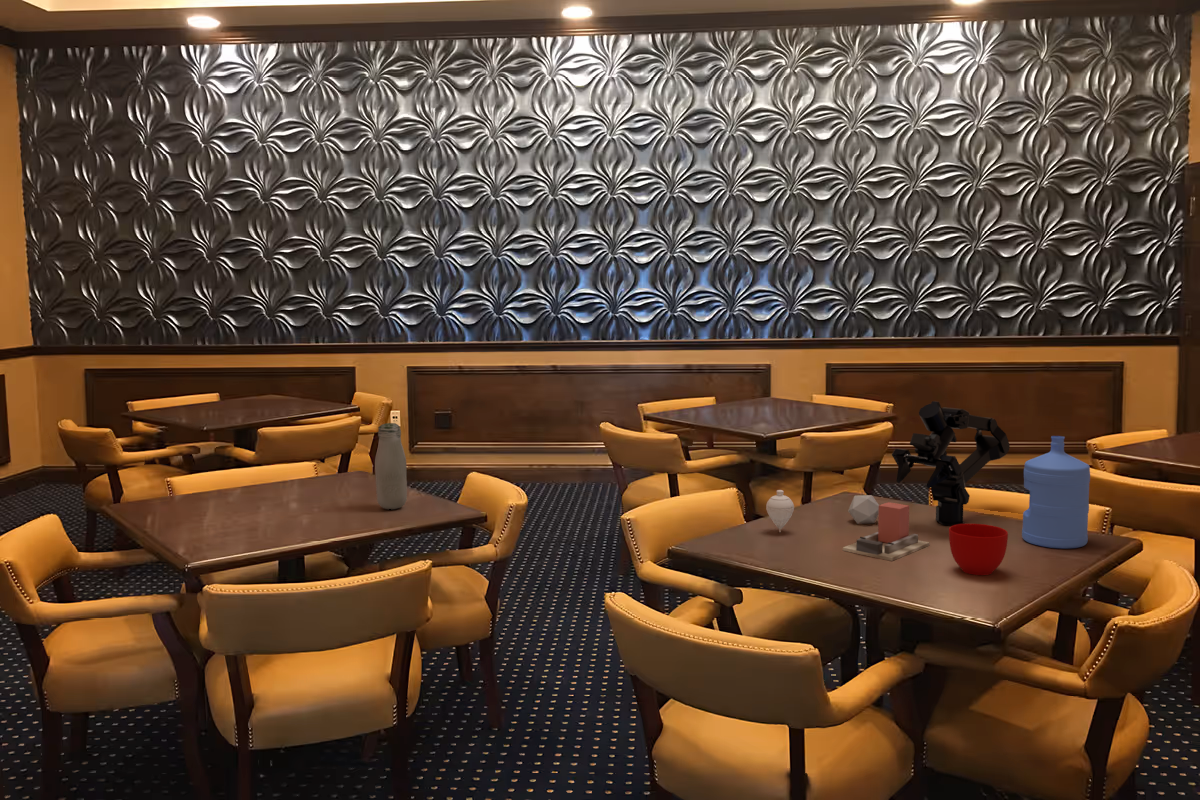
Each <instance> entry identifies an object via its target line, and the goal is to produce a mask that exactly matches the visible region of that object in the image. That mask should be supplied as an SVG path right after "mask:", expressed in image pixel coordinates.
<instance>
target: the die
mask: <svg viewBox="0 0 1200 800" xmlns="http://www.w3.org/2000/svg"><path fill="white" fill-rule="evenodd" d="M879 505H880V504H879V503H878V502H877V500H876V499H875V497H874V496H873V495H872V494H869V495H868V494H866V495H854V496H853V498H852V500H851V503H850V505H849V508H848V510H847V511H848V513H849V514H850V515H851V517H852V519H853V520H854V521H855V523H856V525H862V524H864V525H865V524H867V525H868V524H875V523H876V521H877V519H878V516H879Z"/></svg>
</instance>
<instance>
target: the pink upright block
mask: <svg viewBox="0 0 1200 800" xmlns="http://www.w3.org/2000/svg"><path fill="white" fill-rule="evenodd" d="M877 519H878V521H877V522H878V524H877V527H878V528H877V532H878V541H881V542H886V543H888V542H890V543H892V542H894V541H897V540H899V539H902V538H904V537H907V536H910V533H909V532H910V505H909V504H908V505H907V504H903V503H897V502H895V503H894V502H891V501H890V502H889V501H888V502H885V503H882V504H879V514H878V516H877Z"/></svg>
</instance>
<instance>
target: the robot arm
mask: <svg viewBox="0 0 1200 800" xmlns="http://www.w3.org/2000/svg"><path fill="white" fill-rule="evenodd" d="M918 415H919V417H920V419H921V421H922V424H924V425H923V426H925V428H926V431H928V432H931V433H930V434H924V433H917V432H916V433H915V432H914V433H912V435H911V438H910V442H909V445H910V446H913V447H914V452H915V454H917V455H915V454H912V453H911V452H910V450H909V449H905V448H904V449H903V448H894V450H893V451H892V453H891V456H892V458H893V459H894V462H895V463H896V465H897V475H896V483H897V484H900V483H901V482H903V481H904V480H905V478H906V477H907V476H908V475H909V474H910V472H911V471H912V470H911V469H912V468H913V466H914V464H918V465H924V466H928V467H933V468H934V470H933V472H932V474H931V476H930V477H929V479H928V481H927V482H926V486H925V487H926V488H927V489H930V491H931V497H932V500H933V501H935V502H936V501H937V505H935V521H937V523H939V524H941V525H943V526H953V525H958V524H966V522H964V505H968V503H969V501H970V498H971V497H970V494H969V492H968V490H966V483H967V482H968V481H969V480H971V479H972V478H973V477H974V476H976V474H978V472H979V471H981V470H982V469H983V468H984V467H985V466H986V465H987V464H988V463H989V462H991V461H996V460H1000V459H1002V458H1003V457H1005V456H1006V455H1007V454H1008V453H1009V451H1010V448H1011V445H1010V442H1009V439H1008V436H1007V433H1006V432H1005V431H1004V430H1003V429H1002V428H1001V427H1000V426H999V425H998V422H997V420H996V419H995V418H993V417H988V416H987V417H985V416H980V415H979V416H978V415H974V414H970V412H969V411H968V410H965V409H963V408H956V407H955V408H954V407H942V406H941V403H940V401H936V400H934V401H931V403H928V404H925V405H924V406H923V407H920V408H919V411H918ZM969 428H970V429H975V431H976V433H975V435H974V441H975V447H976V449H975V450H974V451H973V452H972V453H971V454H969V456H967V457H966V458H964V460H962V462H961V463H959V461H958V459H957V457H956V455H949V454H948V453H947V449H948V447H949V445H950V444H951V442H952V443H957V437H956V433H955V431H954V430H953V429H956V430H964V429H969ZM982 431H984V432H990V434H991V435H985V434H983V432H982Z"/></svg>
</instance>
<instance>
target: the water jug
mask: <svg viewBox="0 0 1200 800" xmlns="http://www.w3.org/2000/svg"><path fill="white" fill-rule="evenodd" d="M1065 438H1066V437H1065V436H1062V435H1051V437H1050V439H1051V442H1050V451H1049V452H1046V453H1044V454H1041V455H1039V456H1036V457H1033V458H1031V459H1029V460H1026V461H1025V463H1024V468H1023V487H1024V489H1025V490H1028V491H1029V497H1028V498H1029V501H1028V504H1029V505H1028V508H1027V509H1026V510H1024V511H1023V513H1022V529H1021V537H1022V539H1023V540H1024V541H1025V542H1027V543H1029V544H1031V545H1036V546H1039V547H1044V548H1049V549H1050V548H1052V549H1066V550H1067V549H1068V550H1069V549H1077V548H1078V549H1079V548H1081V547H1084V546H1086V545H1087V543H1088V540H1089V539H1088V538H1089V534H1088V529H1089V528H1088V527H1089V526H1088V525H1089V523H1088V522H1089V512H1090V503H1089V497H1090V483H1091V471H1090V470H1091V467H1090V465H1089V463H1086V462H1084V461H1082V460H1081V459H1079V458H1076V457H1074V456H1072V455H1070V454H1068V453H1066V452H1065Z"/></svg>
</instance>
